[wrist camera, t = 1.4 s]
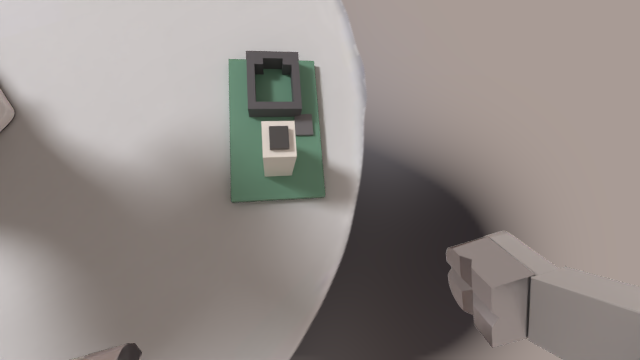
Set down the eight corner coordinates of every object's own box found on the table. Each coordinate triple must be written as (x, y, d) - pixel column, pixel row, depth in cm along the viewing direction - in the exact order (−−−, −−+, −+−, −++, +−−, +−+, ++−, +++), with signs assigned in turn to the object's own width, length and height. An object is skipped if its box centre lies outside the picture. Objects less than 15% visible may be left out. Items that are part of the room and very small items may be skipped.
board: (323, 197, 41) (328, 192, 38) (232, 202, 39) (228, 198, 36) (312, 64, 45) (316, 50, 42) (229, 63, 43) (225, 47, 40)
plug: (291, 175, 40) (297, 154, 31) (264, 176, 39) (262, 155, 31) (289, 140, 41) (294, 111, 32) (263, 141, 40) (260, 111, 32)
